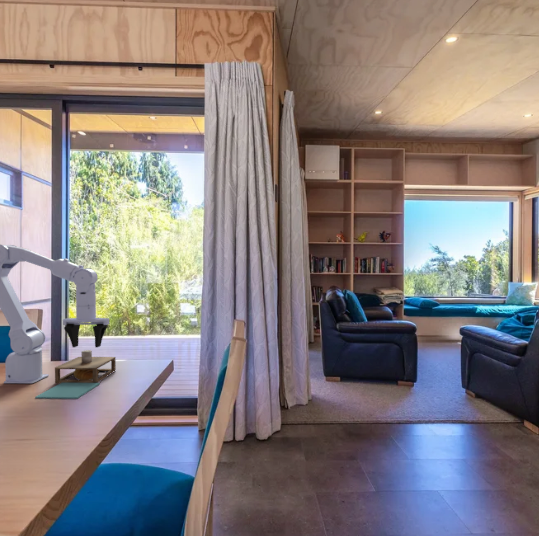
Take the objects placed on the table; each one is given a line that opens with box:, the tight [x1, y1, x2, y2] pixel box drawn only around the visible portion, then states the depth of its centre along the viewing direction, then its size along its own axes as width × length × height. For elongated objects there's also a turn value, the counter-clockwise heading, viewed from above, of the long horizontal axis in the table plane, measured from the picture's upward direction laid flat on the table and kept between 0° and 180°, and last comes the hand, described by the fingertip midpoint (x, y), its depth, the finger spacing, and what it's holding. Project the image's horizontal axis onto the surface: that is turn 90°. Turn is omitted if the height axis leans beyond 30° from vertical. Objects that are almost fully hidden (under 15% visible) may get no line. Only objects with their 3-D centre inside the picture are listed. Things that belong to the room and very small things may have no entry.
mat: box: [34, 382, 101, 400], centre depth 106 cm, size 12×12×1 cm
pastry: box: [73, 369, 99, 380], centre depth 118 cm, size 9×7×4 cm
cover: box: [54, 349, 117, 384], centre depth 119 cm, size 13×13×8 cm
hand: (86, 346), depth 119 cm, fingers open, 7 cm apart
